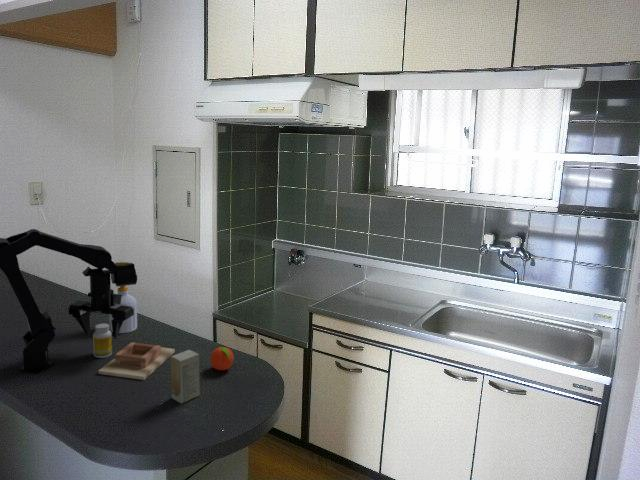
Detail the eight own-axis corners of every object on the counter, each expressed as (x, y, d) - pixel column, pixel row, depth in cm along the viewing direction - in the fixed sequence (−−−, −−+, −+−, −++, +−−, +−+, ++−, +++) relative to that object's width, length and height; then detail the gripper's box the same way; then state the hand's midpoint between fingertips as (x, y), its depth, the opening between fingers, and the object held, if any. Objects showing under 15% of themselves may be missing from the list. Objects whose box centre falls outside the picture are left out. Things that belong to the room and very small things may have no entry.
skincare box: (190, 390, 144) (190, 348, 141) (200, 395, 141) (200, 353, 139) (170, 398, 139) (169, 355, 137) (180, 404, 136) (180, 360, 134)
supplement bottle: (91, 353, 163) (90, 324, 161) (108, 349, 167) (108, 321, 165) (96, 359, 159) (95, 330, 157) (114, 355, 162) (113, 326, 161)
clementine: (240, 371, 156) (240, 349, 155) (220, 378, 152) (220, 355, 150) (225, 362, 162) (225, 340, 161) (205, 368, 157) (205, 346, 156)
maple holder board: (143, 379, 148) (143, 366, 147) (98, 373, 150) (98, 360, 149) (174, 351, 168) (174, 340, 167) (133, 346, 170) (133, 335, 169)
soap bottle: (108, 334, 178) (106, 264, 173) (111, 324, 187) (109, 258, 182) (136, 333, 181) (134, 264, 176) (137, 323, 189) (136, 257, 184)
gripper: (142, 284, 165) (142, 330, 168) (88, 278, 168) (89, 324, 171) (123, 294, 154) (124, 344, 157) (65, 287, 157) (68, 336, 160)
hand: (101, 336), depth 162 cm, fingers open, 9 cm apart
